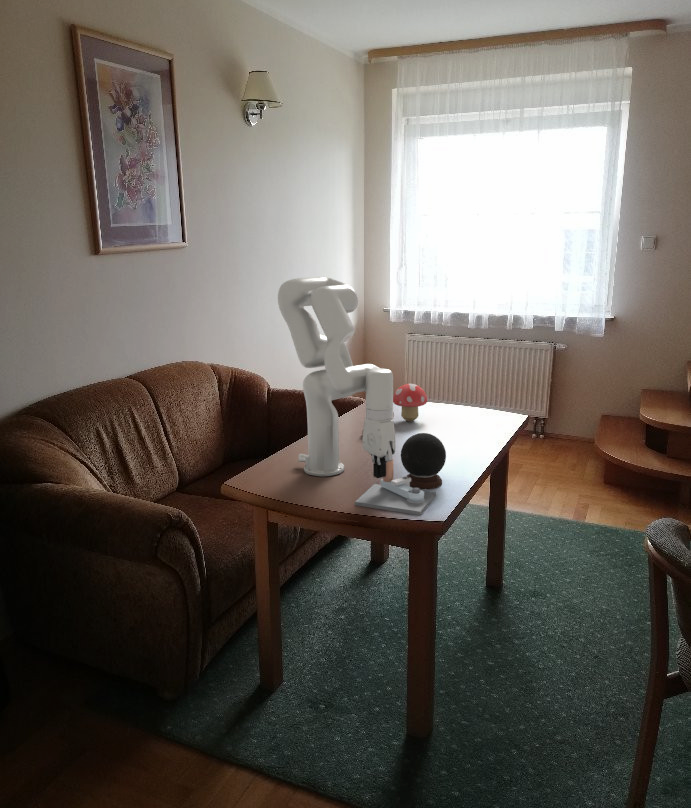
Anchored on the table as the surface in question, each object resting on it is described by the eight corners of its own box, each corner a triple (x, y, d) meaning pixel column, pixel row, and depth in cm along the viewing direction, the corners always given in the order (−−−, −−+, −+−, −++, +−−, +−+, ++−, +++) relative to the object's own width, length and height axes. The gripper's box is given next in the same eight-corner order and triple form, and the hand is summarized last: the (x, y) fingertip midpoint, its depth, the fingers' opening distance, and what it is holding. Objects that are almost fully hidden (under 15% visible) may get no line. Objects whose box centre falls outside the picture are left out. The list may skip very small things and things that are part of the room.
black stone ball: (416, 472, 209) (417, 425, 205) (453, 481, 200) (455, 432, 197) (391, 484, 199) (391, 435, 195) (429, 494, 190) (430, 443, 187)
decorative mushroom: (428, 426, 258) (429, 387, 254) (393, 426, 258) (393, 388, 255) (425, 416, 271) (425, 380, 267) (391, 417, 271) (391, 380, 268)
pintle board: (436, 495, 189) (436, 479, 188) (420, 515, 176) (420, 498, 175) (374, 487, 197) (374, 471, 195) (355, 505, 184) (354, 488, 183)
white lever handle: (427, 499, 183) (427, 471, 181) (415, 503, 181) (415, 475, 179) (390, 483, 196) (390, 457, 194) (378, 486, 193) (378, 460, 191)
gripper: (353, 410, 190) (354, 471, 195) (384, 421, 178) (384, 487, 182) (375, 406, 194) (375, 466, 199) (406, 417, 182) (406, 481, 186)
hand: (379, 476), depth 191 cm, fingers closed
